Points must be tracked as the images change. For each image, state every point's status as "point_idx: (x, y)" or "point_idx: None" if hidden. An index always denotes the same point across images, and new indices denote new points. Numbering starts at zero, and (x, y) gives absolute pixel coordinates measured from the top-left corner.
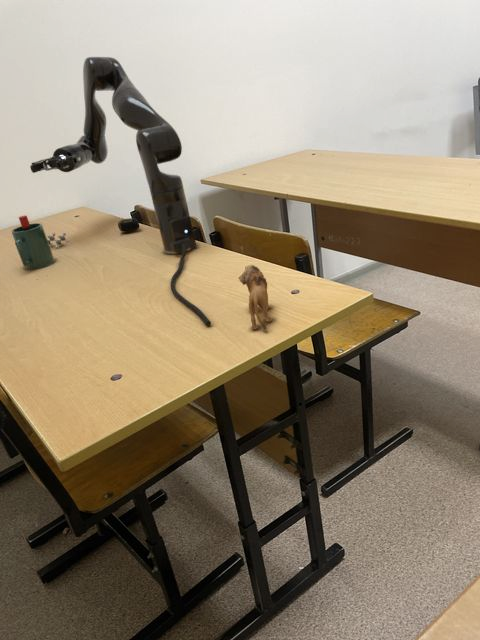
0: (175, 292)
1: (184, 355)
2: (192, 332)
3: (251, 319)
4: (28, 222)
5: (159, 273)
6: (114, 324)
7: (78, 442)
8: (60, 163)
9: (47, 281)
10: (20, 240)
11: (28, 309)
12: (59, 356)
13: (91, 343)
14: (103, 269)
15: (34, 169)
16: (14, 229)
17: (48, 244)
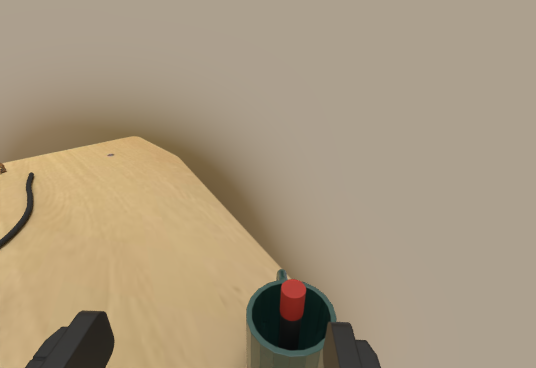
0: (29, 204)
1: (65, 161)
2: (48, 173)
3: (2, 164)
4: (280, 303)
5: (15, 264)
6: (106, 186)
7: (130, 138)
8: (62, 334)
9: (211, 277)
10: (279, 279)
11: (203, 214)
12: (148, 167)
13: (126, 173)
14: (107, 303)
15: (328, 355)
16: (329, 310)
17: (248, 364)
